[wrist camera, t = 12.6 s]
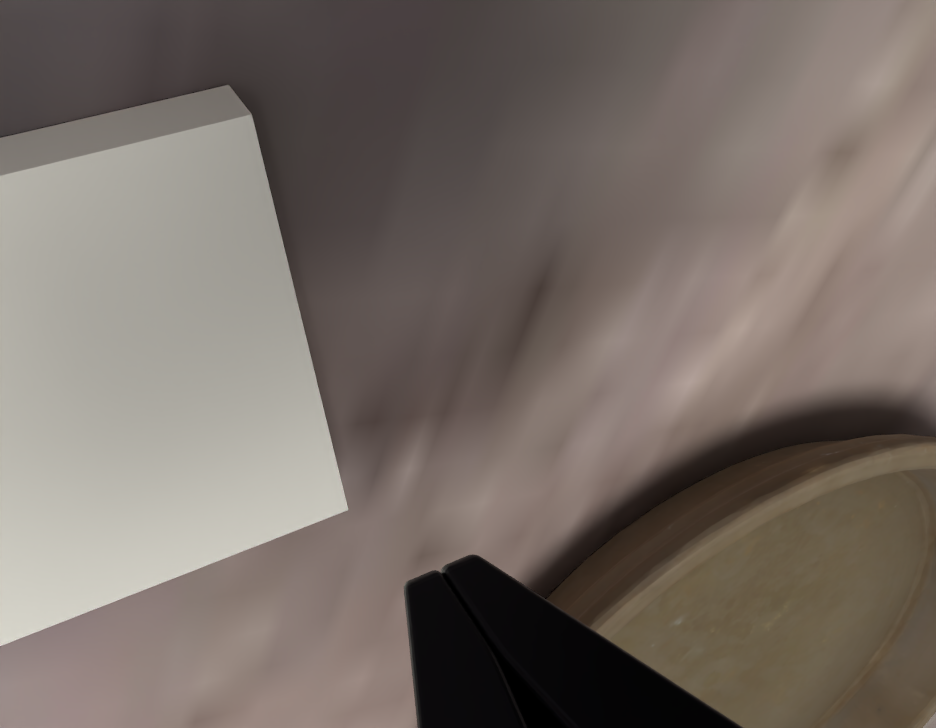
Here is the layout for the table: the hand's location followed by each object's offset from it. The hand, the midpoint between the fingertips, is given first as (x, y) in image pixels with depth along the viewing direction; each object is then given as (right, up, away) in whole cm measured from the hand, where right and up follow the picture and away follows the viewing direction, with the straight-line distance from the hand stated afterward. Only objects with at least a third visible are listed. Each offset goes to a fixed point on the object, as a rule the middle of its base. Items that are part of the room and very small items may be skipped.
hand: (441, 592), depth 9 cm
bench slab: (-9, +2, +11) cm, 14 cm away
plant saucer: (+11, -12, +33) cm, 37 cm away
